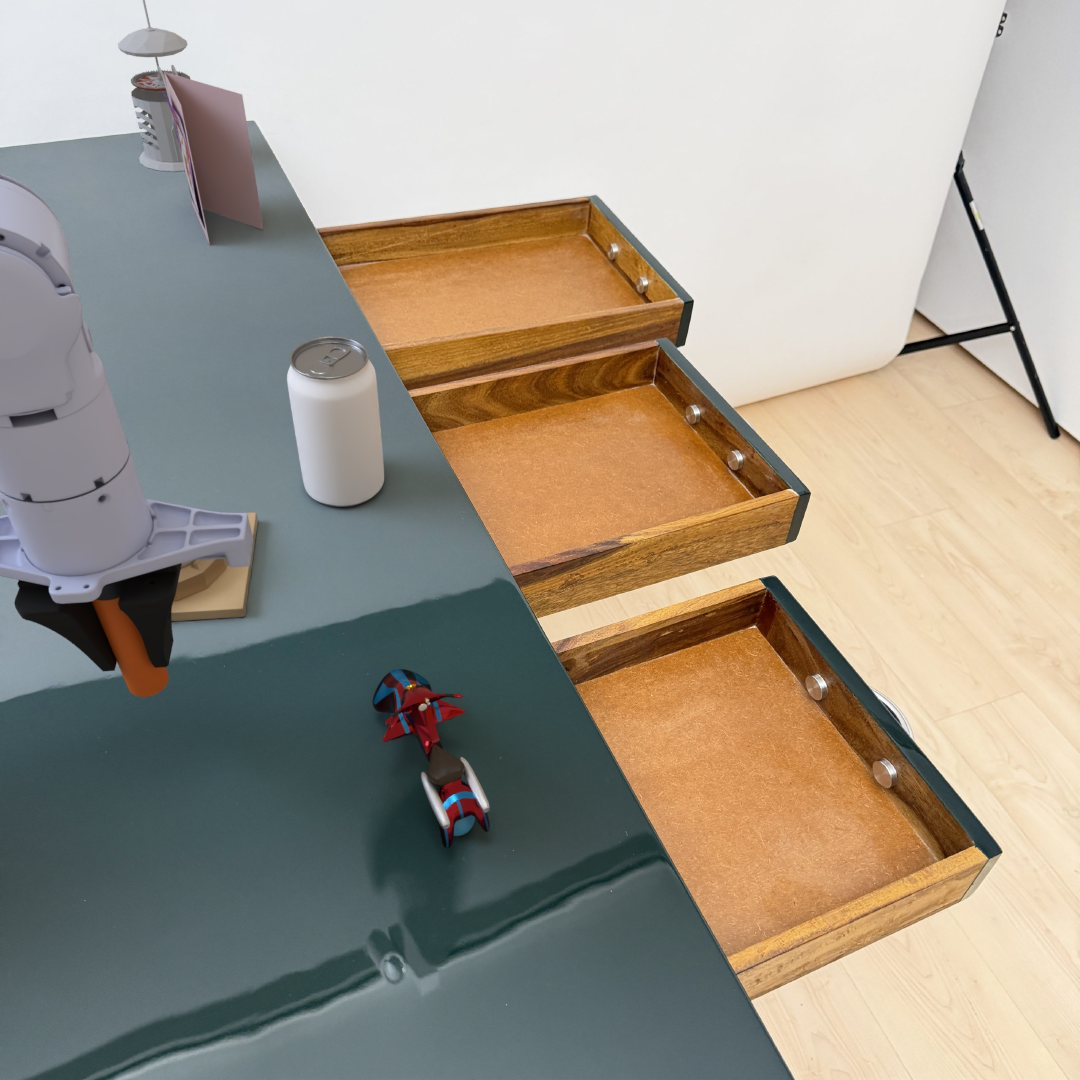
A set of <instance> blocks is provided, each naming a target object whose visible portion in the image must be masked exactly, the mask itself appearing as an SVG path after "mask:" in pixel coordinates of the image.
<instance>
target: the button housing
mask: <svg viewBox="0 0 1080 1080" xmlns="http://www.w3.org/2000/svg"><path fill="white" fill-rule="evenodd" d="M246 513H247V514H248V518H249V523H250V527H251V532H252V536H253V547H252V556H251V562H250V566H245V567H230V566H228V562H227V559H212V560H196V561H195V562H194V563H193V564H192V565H189V566H187V567H184V568H182V569H181V570H180V575H179V580H178V585H177V590H176V594H175V598H174V601H173V604H172V612H171V619H172V622H180V621H198V620H214V619H215V620H216V619H231V618H233V619H234V618H243V617H246V613H247V606H248V598H249V590H250V584H251V576H252V575H251V574H252V569H253V562H254V553H255V545H256V538H257V531H258V523H259V519H258V513H257V512H253V511H252V512H246Z"/></svg>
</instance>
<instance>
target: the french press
mask: <svg viewBox="0 0 1080 1080" xmlns="http://www.w3.org/2000/svg"><path fill="white" fill-rule="evenodd" d="M142 4H143V8H144V13H145V18H146V22H147V27H146V28H140V29H137V30H135V31H132V32H130V33H128V34H127V35H126V36H125V37H123V38H122V39H121V40H120V41H119V42H118V43H117V48H118V49H119V51H120V52H122V53H123V54H125V55H128V56H132V57H136V58H137V57H138V58H139V57H140V58H154V59H155V63H156V68H157V69H155V70H148V71H147V70H146V71H142V72H140V73H137V74H135V75H134V76H132V77H131V79H130V83H131V85H132V86H133V87H135V88H133V89H132V90H131V91H130V92H131V93H130V95H131V100H132V104H133V107H134V109H136V108H138V109H141V110H142V111H136V110H135V111H134V113H135V116H136V119H138V120H140V119H141V120H142V121H143V122H140V121H137V124H138V128H139V129H141V130H142V129H143V130H145V132H142V131H140V132H139V134H140V137H141V139H142V140H147V141H148V142H142V146H143V150H142V152H141V154H140V155H139V157H138V161H139V164H140V165H142V166H144V167H145V168H146V169H151V170H155V171H158V172H160V171H161V172H172V173H173V172H185V168H184V163H183V158H182V154H181V149H180V144H179V139H178V135H177V130H176V125H175V121H174V117H173V114H172V111H171V109H170V106H169V104H168V102H167V100H168V101H169V102H170V97H169V92H168V88H167V83H166V78H165V74H164V72H166V73H170V74H173V75H177V76H180V77H184V78H187V79H191V77H190V75H188V74H187V73H185V72H183V71H180V70H179V71H178V70H177V69H176V67H175V65H174V64H171V65H170V67H171V70H168V69H162V68H161V67H160V65H159V60H158V58H163V57H169V56H174V55H176V54H179V53H181V52H183V51H184V50H185V49H186V48H187V46H188V41H187V40H186V39H185V38H183V37H182V36H180V35H178V34H177V33H176V32H172V31H170V30H167V29H161V28H157V27H151V23H150V17H149V14H148V9H147V5H146V1H145V0H142ZM161 91H162V92H163V93H162V92H161ZM163 94H164V95H165V96H164V95H163ZM165 97H166V98H167V100H166V98H165ZM170 104H171V102H170ZM146 115H147V116H146Z"/></svg>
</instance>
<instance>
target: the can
mask: <svg viewBox="0 0 1080 1080" xmlns="http://www.w3.org/2000/svg"><path fill="white" fill-rule="evenodd" d="M289 355H290V356H289V364H290V366H289V368H288V371H287V375H286V383H287V391H288V398H289V403H290V411H291V417H292V423H293V428H294V434H295V440H296V441H295V442H296V447H297V452H298V458H299V465H300V471H301V476H302V482H303V486H304V489H305V492H306V493H307V494H308V496H310V498H312V499H313V500H315V501H317V502H318V503H320V504H323V505H326V506H330V507H334V508H335V507H336V508H349V507H354V506H358V505H362V504H364V503H366V502H368V501H370V500H371V499H372V498H374V497H375V496H376V495H377V494H378V493H379V492H380V490H381V489H382V488H383V485H384V484H385V483H384V482H385V467H384V452H383V440H382V427H381V416H380V415H381V414H380V406H379V405H380V403H379V392H378V391H379V390H378V381H377V372H376V370H375V367H374V365H373V364H372V361H371V360H370V359H369V357H370V356H369V351H368V350H367V347H365V346H364V345H363V344H362V343H360V342H359V341H358V340H354V339H352V338H348V337H344V336H343V337H342V336H320V337H316V338H312V339H309V340H307V341H303V342H302V343H300V344H299V345H297V346H296V347H295V348H294V349H293V350H292V351H291V353H290V354H289Z"/></svg>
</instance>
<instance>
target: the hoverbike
mask: <svg viewBox="0 0 1080 1080" xmlns="http://www.w3.org/2000/svg"><path fill="white" fill-rule="evenodd" d="M445 698H449V699H450V698H451V699H463V698H464V695H463V694H460V693H438V692H434V691H433V689H432V686H431V683H430V682H429V681H428V680H427V679H426V678H425V677H424V676H422V675H420V674H419V673H417V672H415V671H412V670H409V669H404V668H398V669H393V670H391V671H389V672H388V673H386V675H384V677H383V678H382V679H381V680H380V681H379V683H378V685H377V687H376V688H375V691H374V694H373V697H372V702H371V704H372V707H373V709H374V710H375V711H376V712H377V713H381V714H383V713H384V714H385V713H386V714H390V715H391V716H389V718H387V720H386V721H385V724H384V725H385V726H387V725H388V728H387V730H386V731H385V734H384V736H383V739H382V743H388V742H390V741H394V740H397V739H401V738H403V737H405V736H408V735H412V734H413V735H415V737H416V739H417V742H418V744H419V746H420V748H421V750H422V752H423V754H424V757H425V759H426V761H427V763H428V768H427V773H426V772H424V771H422V772H421V773H420V779H421V784H422V786H423V790H424V792H425V795H426V798H427V799H428V802H429V805H430V807H431V809H432V812H433V814H434V816H435V818H436V820H437V821H436V822H437V824H438V828H439V832H440V839H441V844H442V846H443V848H445V849H450V848H451V847H452V846H453V843H454V837H460V836H464V835H466V834H467V833H468V832H470V831H471V829H472V828H473V826H474V824H475V822H477V823H478V825H479V827H480V828H481V829H482V830H483V831H484V832H485V833H488V832H490V829H491V821H490V819H489V814H488V812H489V811H490V808H491V806H490V803H489V800H488V797H487V795H486V793H485V791H484V789H483V787H482V785H481V783H480V781H479V779H478V777H477V775H476V774H475V771H474V769H473V768H472V766H471V764H470V762H468V760H467V759H465V757H463V756H460V757H459V758H458V757H456V756H455V755H453V754H451V753H449V752H448V751H446V750H445V749H444V747H443V745H442V742H441V740H440V739H441V738H440V737H439V733H438V731H437V725H439V724H442V723H443V722H446V721H449V720H452V719H455V718H457V717H459V716H461V715H464V714H466V711H465V709H463V708H460V707H459V706H456V705H453V704H451V703H449V702H446V701H444V700H442V699H445ZM463 776H464V779H465V781H466V782H465V781H464V780H463V779H462V778H463ZM435 785H436V787H435ZM475 820H476V821H475Z"/></svg>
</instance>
